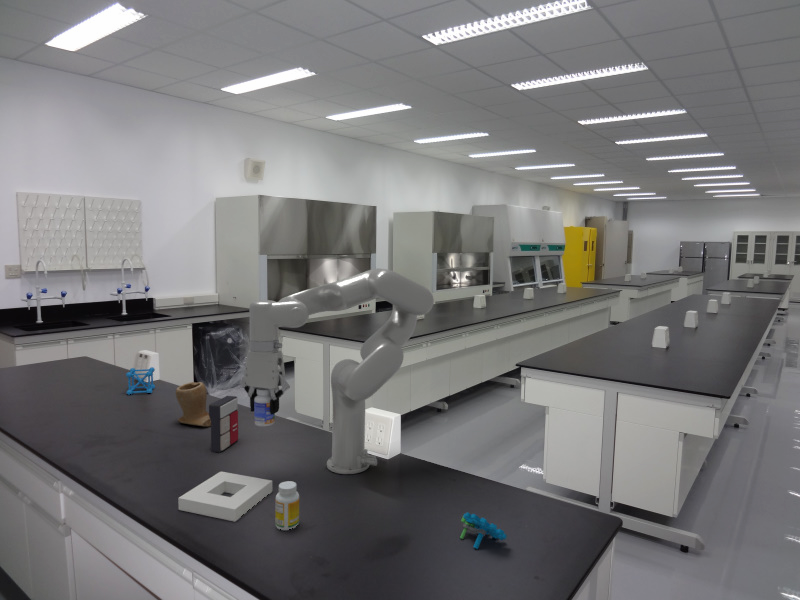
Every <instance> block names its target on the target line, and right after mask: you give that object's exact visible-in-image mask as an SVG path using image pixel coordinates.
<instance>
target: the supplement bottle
mask: <svg viewBox="0 0 800 600" xmlns="http://www.w3.org/2000/svg"><path fill="white" fill-rule="evenodd" d="M297 488H298V487H297V483H296V481H295V482H294V481H291V480H290V481H289V480H287V481H282V482H280V483H279V484H278V492H277V494H276V495H275V508H274V509H275V512H274V513H275V516H274V517H275V519H274V520H275V521H274V523H275V528H276V529H278V530H280V529H281V531H290V530H289V529H291V530H293V529H296V528H297V527H298V526H297V525H299V524H300V494H299V492H298V491H297ZM296 526H297V527H296ZM292 528H293V529H292Z"/></svg>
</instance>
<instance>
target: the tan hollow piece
mask: <svg viewBox="0 0 800 600" xmlns="http://www.w3.org/2000/svg"><path fill="white" fill-rule="evenodd" d="M207 393H208V392H207V388H206V385H205V384H204V383H203V382H202V381H198V382H194V381H193V382H187V383H183V384H181V385H180V386H178V387H176V389H175V396H176V400H177V402H178V404H179V407H180V408H181V410H182V416H180V417H179V418H178V419H177V421H178V423H181V424H185V425H191V426H199V427H211V419H210V417H209V412H207V409H206V408H207V400H208V399H207V398H208V396H207V395H208V394H207Z"/></svg>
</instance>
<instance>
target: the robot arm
mask: <svg viewBox="0 0 800 600" xmlns="http://www.w3.org/2000/svg"><path fill="white" fill-rule="evenodd" d="M377 299H381V300H384V301H385V302H388V303H390V304H391V305H392V311H391V315H390V317H389V318H388V320H387V321H386V322H385V323H384V324H383V325H382V326H380V327H379V328H378V330H376V331H375V332H374V333H373V334H372V335H371V336H369V338H368V339H366V340H365V341H364V342H363V344H362V345H361V347H360V351H359V353H360V358H361V359H362V360H361V362H358V361H357V360H355V359H349V358H348V359H342V360H340V361H338V362H337V363H336V364H335V365H334V366H333V368H332V370H331V373H330V388H331V397H332V398H331V399H332V417H331V418H332V423H331V426H332V427H331V428H332V431H331V433H332V437H331V438H332V439H331V440H332V441H331V443H332V445H331V446H332V447H331V457H329V458H328V460H327V461H326V468H327V469H328V470H329V471H330V472H334V473H335V474H342V475H354V474H358V473H359V474H360V473H362V472H364V471H366V470H367V469H368V468H370V466H375V467H377V465H378V459H377V456H376V455H371V454H369V453H368V452H369V450H368V449H365V437H366V400H367V399H370V398H371V397H373V395H375V394H376V393H377V392H378V391H379V390H380V389H381V388H382V387H383V386H384V385H385V384H386V383H387V382H389V381H390V379H391V378H393V376H395V374H396V373H398V371H399V370H400V368H401V367H402V365H403V361H404V355H405V354H404V351H403V348H402V347H403V346H404V345H405V344H406V343H407V342H408V340H409V339H410V338H411V337H412V336H413V334H414V332H415V330H416V326H417V320H418V316H424V315H427V314H428V313H429V312H430V311H431V310H432V309H433V306H434V303H435V301H434V295H433V293H432V292H431V291H430V290H429V288H427V287H425V286H423V285H421V284H419V283H417V282H416V281H413V280H411V279H409V278H407V277H406V276H403V275H401V274H399V273H397V272H395V271H393V270H391V269H386V268H372V269H369V270H366V271H364V272H361V273H357V274H354V275H351V276H348V277H346V278H342V279H340V280H336V281H333V282H329V283H326V284H325V283H324V284H323V285H319V286H316V287H315V286H314V287H312V288H308V289H305V290H302V291H299V292H296V293H293V294H290V295H288V296H287V295H286V296H285V297H282V298H280V299H279V300H278V301H275V300H271V299H257V300H253V301H251V302H250V304H249V350H247V355H246V360H245V370H244V376H243V377H242V378H241V380H240V381H239V384H240V386H241V387H242V388H244V391H245V392H246V393H247V397H249V406H250V412H254V399H255V397H256V396H258V395H257V388H264V389H269V390H270V393H271V396H272V399H271V400H270V414H275V415H276V413H278V412H279V410H280V398H281V397H282V396H283V395H284V394H285V393H286V392H287V391H288V390H289V389H290V388H291V386H290V384H289V382H287V380H286V371H285V369H286V368H285V361H284V356H283V353H282V350H280V349H282V348H283V343H281V342H280V339H279V327H280V328H290V329H293V328H294V329H297V328H300V327H303V326H305V324H306V323H307V322H308V321H309V318H310V316H312V315H315V314H319V313H324V312H339V311H340V312H341V311H346V310H349V309H352V308H354V307H357V306H359V305H361V304H365V303H367V302H370V301H373V300H374V301H375V300H377ZM280 387H281V388H280Z"/></svg>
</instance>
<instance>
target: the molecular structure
mask: <svg viewBox="0 0 800 600" xmlns="http://www.w3.org/2000/svg"><path fill="white" fill-rule="evenodd" d="M155 370H156V369H155V367H152V366H151V367H149V368H148V369H147V368H146V369H144V368H143V369H136V368H134V367H132V368H130V369H129V371H128V372H126V374H125V376H126V377H127V378H128V379H127V380H128V390H127V391H126V395H127V394H128V396H131V395H133V394H138V393H139V394H142V393H144V394H145V393H146V394H147V393H151V394H153V390H155V388H156V385H155V384H154V373H155ZM136 372H141V373H136ZM143 372H144V373H143ZM145 372H146V373H145ZM139 376H143V377H142V378H141V377H139ZM145 379H147V382H146V381H145ZM135 380H136V381H137V383H136V384H135ZM139 385H142V386H139ZM136 389H146V390H136ZM135 390H136V391H135ZM130 394H131V395H130Z"/></svg>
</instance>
